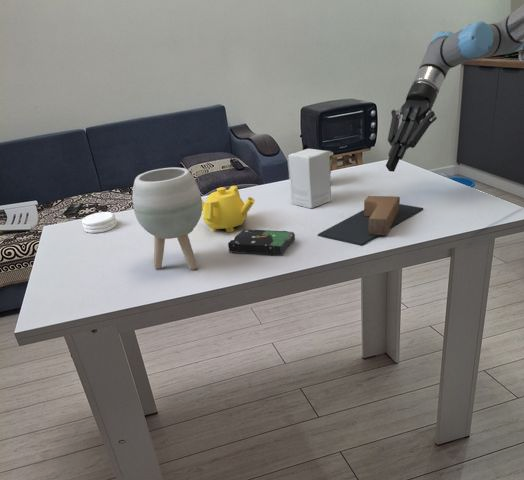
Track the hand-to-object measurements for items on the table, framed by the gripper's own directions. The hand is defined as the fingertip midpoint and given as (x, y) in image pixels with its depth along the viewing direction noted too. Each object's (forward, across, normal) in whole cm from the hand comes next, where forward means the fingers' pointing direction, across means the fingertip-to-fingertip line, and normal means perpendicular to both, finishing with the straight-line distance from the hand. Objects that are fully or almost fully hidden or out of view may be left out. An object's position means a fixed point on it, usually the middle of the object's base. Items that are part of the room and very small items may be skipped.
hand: (389, 168), depth 144 cm
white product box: (+10, +26, -8) cm, 29 cm away
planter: (+48, +27, +30) cm, 62 cm away
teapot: (+30, +36, +12) cm, 48 cm away
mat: (+14, 0, -3) cm, 15 cm away
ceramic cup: (-1, +37, -19) cm, 42 cm away
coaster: (+44, +72, +26) cm, 88 cm away
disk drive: (+34, +16, +16) cm, 41 cm away
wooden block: (+7, +2, -7) cm, 10 cm away
